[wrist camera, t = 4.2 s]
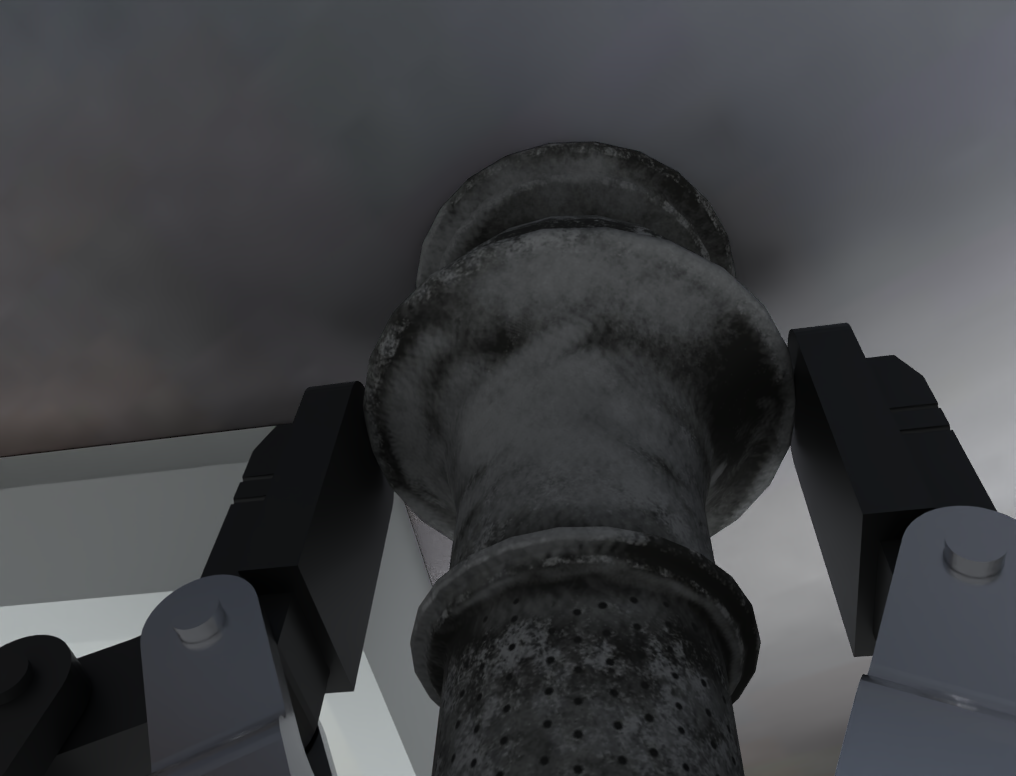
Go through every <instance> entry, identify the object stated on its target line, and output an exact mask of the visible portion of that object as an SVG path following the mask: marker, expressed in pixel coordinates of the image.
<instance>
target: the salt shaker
mask: <svg viewBox="0 0 1016 776" xmlns="http://www.w3.org/2000/svg"><path fill="white" fill-rule="evenodd" d="M735 276H736V274H735V270H734V265H733V260H732V255H731V250H730V245H729V240H728V237H727V234H726V232H725V230H724V229H723V227H722V225H721V223H720V222H719V220H718V218H717V216H716V214H715V213H714V211H713V209H712V207H711V206H710V204H709V202H708V200H707V199H706V198H704V197H703V196H702V195H701V194H700V193H699V192H698V191H697V190H696V189H695V188H694V187H693V186H692V185H691V184H690V183H689V182H688V181H687V180H686V179H685V178H684V177H682V176H681V175H680V174H679V173H678V172H677V171H675V170H673V169H671V168H669V167H667V166H665V165H663V164H662V163H660V162H658V161H656V160H654V159H652V158H650V157H648V156H646V155H644V154H642V153H641V152H638V151H633V150H629V149H624V148H620V147H615V146H611V145H606V144H602V143H598V142H579V143H549V144H546V145H542V146H539V147H536V148H532V149H529V150H525V151H522V152H519V153H515V154H512V155H508V156H505V157H504V158H502V159H500V160H499V161H497V162H495V163H494V164H492V165H491V166H489V167H487V168H486V169H484V170H482V171H481V172H479V173H477V174H476V175H474V176H472V177H471V178H469V179H468V180H467V181H466V182H465V183H464V184H463V185H462V186H461V187H460V188H459V189H458V191H457V192H456V193H455V194H454V195H453V196H452V197H451V198H450V199H449V200H448V201H447V202H446V203H445V204H444V205H443V206H442V207H441V209H440V211H439V212H438V214H437V216H436V218H435V220H434V222H433V224H432V226H431V228H430V230H429V232H428V234H427V236H426V238H425V240H424V242H423V245H422V250H421V256H420V261H419V267H418V273H417V279H416V290H415V291H414V292H413V293H412V294H411V295H410V296H409V297H408V298H407V299H406V300H405V301H404V302H403V303H402V304H401V305H400V306H399V307H398V308H397V309H396V310H395V311H394V312H393V314H392V316H391V318H390V320H389V322H388V323H387V325H386V327H385V329H384V331H383V333H382V335H381V337H380V339H379V341H378V343H377V345H376V347H375V349H374V351H373V353H372V355H371V357H370V360H369V366H368V373H367V379H366V386H365V393H364V400H363V411H364V417H365V422H366V427H367V433H368V436H369V440H370V444H371V447H372V451H373V453H374V455H375V458H376V460H377V462H378V464H379V466H380V468H381V470H382V472H383V474H384V476H385V477H386V479H387V481H388V483H389V485H390V487H391V488H392V489H393V491H394V492H395V493H396V494H397V495H398V496H399V497H400V498H401V499H402V500H403V501H404V502H405V503H406V504H407V505H408V506H409V507H410V509H411V510H412V511H413V512H414V513H415V514H416V515H417V516H418V517H419V518H420V519H421V520H422V521H423V522H425V523H426V524H428V525H429V526H431V527H432V528H434V529H435V530H437V531H438V532H440V533H441V534H443V535H445V536H446V537H448V538H449V539H451V540H452V541H453V546H452V553H451V561H450V569H449V571H448V572H447V573H446V574H444V575H443V576H442V577H440V578H439V579H438V580H437V581H436V583H435V584H434V586H433V587H432V589H431V590H430V591H429V593H428V594H427V596H426V597H425V599H424V600H423V601H422V603H421V604H420V606H419V607H418V611H417V615H416V619H415V623H414V627H413V631H412V635H411V640H410V647H411V653H412V659H413V665H414V672H415V674H416V675H417V677H418V679H419V680H420V682H421V684H422V686H423V687H424V689H425V691H426V693H427V694H428V696H429V698H430V699H431V700H432V701H433V702H435V703H436V704H437V705H438V706H439V707H440V709H439V717H438V726H437V734H436V742H435V751H434V759H433V767H432V775H431V776H744V770H743V764H742V758H741V752H740V747H739V741H738V735H737V729H736V724H735V718H734V712H733V706H732V704H733V703H734V702H735V701H736V700H738V699H739V697H740V695H741V694H742V692H743V691H744V689H745V687H746V686H747V684H748V683H749V681H750V679H751V678H752V676H753V674H754V673H755V670H756V665H757V660H758V654H759V649H760V644H761V641H760V637H759V632H758V628H757V624H756V619H755V615H754V611H753V607H752V604H751V603H750V601H749V600H748V599H747V597H746V596H745V594H744V593H743V592H742V590H741V589H740V587H739V586H738V584H737V583H736V582H735V580H734V579H733V577H732V576H730V575H729V574H728V573H726V572H725V571H724V570H722V569H721V568H720V567H718V566H717V565H715V561H714V556H713V550H712V545H711V539H710V537H711V536H713V535H714V534H716V533H717V532H719V531H720V530H722V529H723V528H725V527H727V526H728V525H730V524H731V523H733V522H734V521H736V520H737V519H738V518H739V517H740V516H741V515H742V514H743V513H744V512H745V511H746V510H747V509H748V508H749V506H750V505H751V504H752V503H753V502H754V501H755V500H756V499H757V498H758V497H759V496H760V495H761V494H762V493H763V491H764V490H765V489H766V488H767V487H768V486H769V485H770V483H771V481H772V480H773V478H774V476H775V474H776V472H777V470H778V468H779V466H780V464H781V462H782V460H783V458H784V456H785V454H786V452H787V451H788V449H789V447H790V445H791V440H792V434H793V428H794V422H795V405H796V398H795V379H794V373H793V368H792V362H791V356H790V352H789V349H788V347H787V345H786V344H785V342H784V340H783V338H782V337H781V335H780V333H779V331H778V329H777V328H776V326H775V324H774V322H773V321H772V319H771V317H770V315H769V313H768V312H767V310H766V308H765V306H764V305H763V304H762V303H761V302H760V301H759V300H758V299H757V298H756V297H755V296H753V295H752V294H751V293H750V292H749V291H748V290H747V289H746V288H745V287H744V286H743V285H742V284H740V283H739V282H738V281H737V280H736V279H735Z"/></svg>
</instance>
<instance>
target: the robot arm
mask: <svg viewBox="0 0 1016 776" xmlns="http://www.w3.org/2000/svg"><path fill="white" fill-rule="evenodd" d="M788 349H789V352H790V356H791V362H792V368H793V373H794V379H795V398H796V405H795V422H794V428H793V434H792V440H791V445H790V446H791V452H792V457H793V461H794V465H795V468H796V471H797V475H798V478H799V481H800V484H801V488H802V491H803V494H804V497H805V500H806V504H807V507H808V510H809V513H810V517H811V520H812V523H813V526H814V530H815V533H816V536H817V539H818V542H819V546H820V549H821V552H822V555H823V559H824V562H825V565H826V568H827V571H828V575H829V578H830V581H831V584H832V588H833V591H834V594H835V597H836V600H837V604H838V607H839V610H840V613H841V617H842V620H843V623H844V626H845V629H846V633H847V636H848V639H849V642H850V646H851V649H852V652H853V655H854V657H859V656H873V657H872V661H871V665H870V668H869V672H868V675H864V674H863V675H862V677H861V679H860V682H859V685H858V688H857V692H856V695H855V699H854V703H853V707H852V711H851V714H850V718H849V722H848V726H847V730H846V734H845V738H844V742H843V745H842V749H841V753H840V757H839V761H838V765H837V769H836V773H835V776H1016V519H1014V518H1011V517H1009V516H1007V515H1005V514H1002V513H999V512H997V510H996V509H995V507H994V505H993V503H992V501H991V499H990V498H989V496H988V494H987V492H986V490H985V488H984V487H983V485H982V483H981V481H980V479H979V477H978V476H977V474H976V472H975V470H974V468H973V466H972V465H971V463H970V461H969V459H968V457H967V455H966V454H965V452H964V450H963V448H962V446H961V444H960V443H959V441H958V439H957V437H956V435H955V433H954V432H953V430H950V424H949V422H948V421H947V419H946V417H945V415H944V413H943V411H942V410H941V408H938V402H937V400H936V399H935V397H934V395H933V393H932V391H931V389H930V388H929V386H928V384H927V382H926V380H925V378H924V377H923V376H922V375H921V374H920V373H918V372H917V371H915V370H914V369H913V368H911V367H910V366H909V365H907V364H906V363H904V362H903V361H902V360H900V359H899V358H897V357H896V356H895V355H889V356H880V357H872V358H865V356H864V354H863V352H862V350H861V347H860V345H859V343H858V341H857V339H856V337H855V335H854V333H853V330H852V328H851V327H850V325H849V324H848V323H840V324H832V325H823V326H815V327H807V328H799V329H791V330H790V331H789V335H788ZM364 393H365V387H364V386H363V384H362V383H361V382H359V381H355V382H347V383H339V384H330V385H322V386H314V387H309V388H307V389H306V391H305V393H304V395H303V398H302V400H301V403H300V406H299V408H298V411H297V414H296V416H295V419H294V422H293V424H286V425H277V426H276V427H275V428H274V429H273V430H272V431H271V432H270V433H269V434H268V435H267V436H266V437H265V438H264V439H263V440H262V442H261V443H260V444H259V445H258V446H257V447H256V448H255V449H254V450H253V452H252V454H251V457H250V459H249V462H248V464H247V466H246V469H245V471H244V474H243V476H242V478H243V482H240V483H239V486H238V488H237V491H236V493H235V495H234V498H233V500H234V504H231V505H230V507H229V510H228V512H227V515H226V517H225V519H224V522H223V524H222V527H221V529H220V532H219V534H218V536H217V539H216V541H215V544H214V546H213V548H212V551H211V553H210V556H209V558H208V561H207V563H206V565H205V568H204V570H203V573H202V575H201V577H200V579H197V580H194V581H192V582H190V583H188V584H185V585H183V586H182V587H180V588H178V589H177V590H175V591H174V592H172V593H171V594H170V595H168V596H167V597H166V598H165V599H163V600H162V601H161V602H160V603H159V604H158V605H157V606H156V608H155V609H154V610H153V611H152V612H151V614H150V615H149V617H148V618H147V620H146V622H145V624H144V627H143V629H142V633H141V635H140V636H138V637H135V638H133V639H131V640H128V641H125V642H122V643H119V644H116V645H113V646H111V647H108V648H105V649H102V650H99V651H96V652H94V653H91V654H88V655H85V656H82V657H79V658H76V657H75V655H74V654H73V652H72V651H71V650H70V648H69V647H68V645H67V644H66V643H65V642H64V641H63V640H61V639H60V638H58V637H55V636H51V635H33V636H27V637H24V638H20V639H17V640H14V641H12V642H10V643H7V644H5V645H3V646H1V647H0V776H337V772H336V769H335V765H334V762H333V758H332V755H331V751H330V748H329V744H328V741H327V737H326V734H325V731H324V729H323V726H322V724H321V722H320V720H319V716H320V712H321V708H322V704H323V699H324V695H325V694H326V693H340V692H353V691H354V689H355V684H356V679H357V675H358V670H359V665H360V660H361V655H362V651H363V646H364V641H365V636H366V632H367V627H368V622H369V617H370V612H371V608H372V603H373V598H374V593H375V589H376V584H377V579H378V574H379V569H380V565H381V560H382V555H383V550H384V546H385V541H386V536H387V531H388V526H389V522H390V517H391V512H392V507H393V501H394V491H393V489H392V488H391V487H390V485H389V483H388V481H387V479H386V477H385V476H384V474H383V472H382V470H381V468H380V466H379V464H378V462H377V460H376V458H375V455H374V453H373V451H372V447H371V444H370V440H369V436H368V433H367V427H366V422H365V417H364V411H363V400H364Z"/></svg>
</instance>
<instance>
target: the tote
mask: <svg viewBox="0 0 1016 776" xmlns="http://www.w3.org/2000/svg"><path fill="white" fill-rule="evenodd" d="M275 427H276V426H269V427H260V428H252V429H243V430H235V431H226V432H217V433H209V434H200V435H192V436H183V437H174V438H166V439H157V440H149V441H140V442H131V443H123V444H114V445H105V446H97V447H88V448H80V449H71V450H62V451H54V452H45V453H37V454H28V455H19V456H11V457H2V458H0V647H1V646H3V645H5V644H7V643H10V642H12V641H14V640H17V639H20V638H24V637H27V636H33V635H51V636H55V637H58V638H60V639H61V640H63V641H64V642H65V643H66V644H67V645H68V647H69V648H70V650H71V651H72V652H73V654H74V655H75V657H76V658H79V657H82V656H85V655H88V654H91V653H94V652H96V651H99V650H102V649H105V648H108V647H111V646H113V645H116V644H119V643H122V642H125V641H128V640H131V639H133V638H135V637H138V636H140V635H141V633H142V629H143V627H144V624H145V622H146V620H147V618H148V617H149V615H150V614H151V612H152V611H153V610H154V609H155V608H156V606H157V605H158V604H159V603H160V602H161V601H162V600H163V599H165V598H166V597H167V596H168V595H170V594H171V593H172V592H174V591H175V590H177V589H178V588H180V587H182V586H183V585H185V584H188V583H190V582H192V581H194V580H197V579H200V577H201V575H202V573H203V570H204V568H205V565H206V563H207V561H208V558H209V556H210V553H211V551H212V548H213V546H214V544H215V541H216V539H217V536H218V534H219V532H220V529H221V527H222V524H223V522H224V519H225V517H226V515H227V512H228V510H229V507H230V505H231V504H234V500H233V498H234V495H235V493H236V491H237V488H238V486H239V483H240V482H243V478H242V476H243V474H244V471H245V469H246V466H247V464H248V462H249V459H250V457H251V454H252V452H253V450H254V449H255V448H256V447H257V446H258V445H259V444H260V443H261V442H262V440H263V439H264V438H265V437H266V436H267V435H268V434H269V433H270V432H271V431H272V430H273V429H274V428H275ZM431 589H432V584H431V581H430V578H429V575H428V572H427V569H426V566H425V563H424V560H423V557H422V554H421V551H420V548H419V545H418V542H417V539H416V536H415V533H414V530H413V527H412V524H411V521H410V518H409V515H408V512H407V509H406V506H405V503H404V501H403V500H402V499H401V498H400V497H399V496H398V495H397V494H396V493H395V492H394V501H393V507H392V512H391V517H390V522H389V526H388V531H387V536H386V541H385V546H384V550H383V555H382V560H381V565H380V569H379V574H378V579H377V584H376V589H375V593H374V598H373V603H372V608H371V612H370V617H369V622H368V627H367V632H366V636H365V641H364V646H363V651H362V655H361V660H360V665H359V670H358V675H357V679H356V684H355V689H354V691H353V692H340V693H326V694H325V695H324V699H323V704H322V708H321V712H320V716H319V720H320V722H321V724H322V726H323V729H324V731H325V734H326V737H327V741H328V744H329V748H330V751H331V755H332V758H333V762H334V765H335V769H336V772H337V776H431V775H432V767H433V759H434V751H435V742H436V734H437V726H438V717H439V709H440V707H439V706H438V705H437V704H436V703H435V702H433V701H432V700H431V699H430V698H429V696H428V694H427V693H426V691H425V689H424V687H423V686H422V684H421V682H420V680H419V679H418V677H417V675H416V674H415V672H414V665H413V659H412V653H411V647H410V640H411V635H412V631H413V627H414V623H415V619H416V615H417V611H418V607H419V606H420V604H421V603H422V601H423V600H424V599H425V597H426V596H427V594H428V593H429V591H430V590H431Z"/></svg>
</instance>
